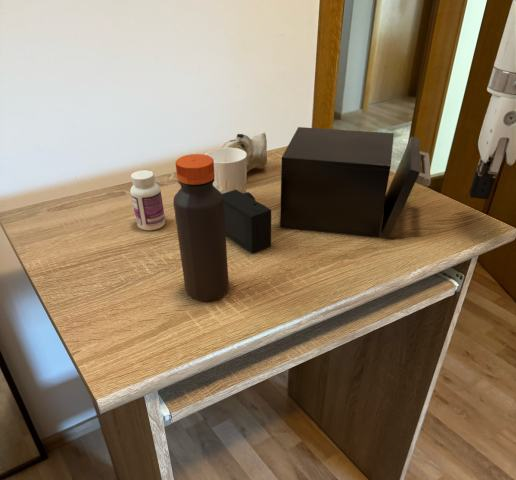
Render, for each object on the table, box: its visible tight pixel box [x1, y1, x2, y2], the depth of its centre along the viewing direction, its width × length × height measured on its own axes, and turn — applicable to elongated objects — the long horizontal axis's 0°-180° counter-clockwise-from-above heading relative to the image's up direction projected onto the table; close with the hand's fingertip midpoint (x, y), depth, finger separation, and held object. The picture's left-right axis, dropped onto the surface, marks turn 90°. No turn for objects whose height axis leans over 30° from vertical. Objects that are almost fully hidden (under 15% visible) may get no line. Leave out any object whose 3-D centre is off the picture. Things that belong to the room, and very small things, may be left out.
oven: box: [279, 126, 395, 238], centre depth 90 cm, size 18×16×13 cm
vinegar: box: [173, 153, 230, 302], centre depth 69 cm, size 7×7×20 cm
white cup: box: [204, 147, 248, 194], centre depth 94 cm, size 8×8×10 cm
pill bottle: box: [130, 169, 166, 231], centre depth 89 cm, size 5×5×10 cm
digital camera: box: [222, 190, 272, 254], centre depth 85 cm, size 10×5×7 cm, turn 37°
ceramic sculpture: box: [221, 132, 268, 172], centre depth 107 cm, size 11×9×15 cm
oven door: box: [380, 136, 432, 240], centre depth 88 cm, size 4×16×13 cm, turn 167°
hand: (478, 196), depth 86 cm, fingers closed
